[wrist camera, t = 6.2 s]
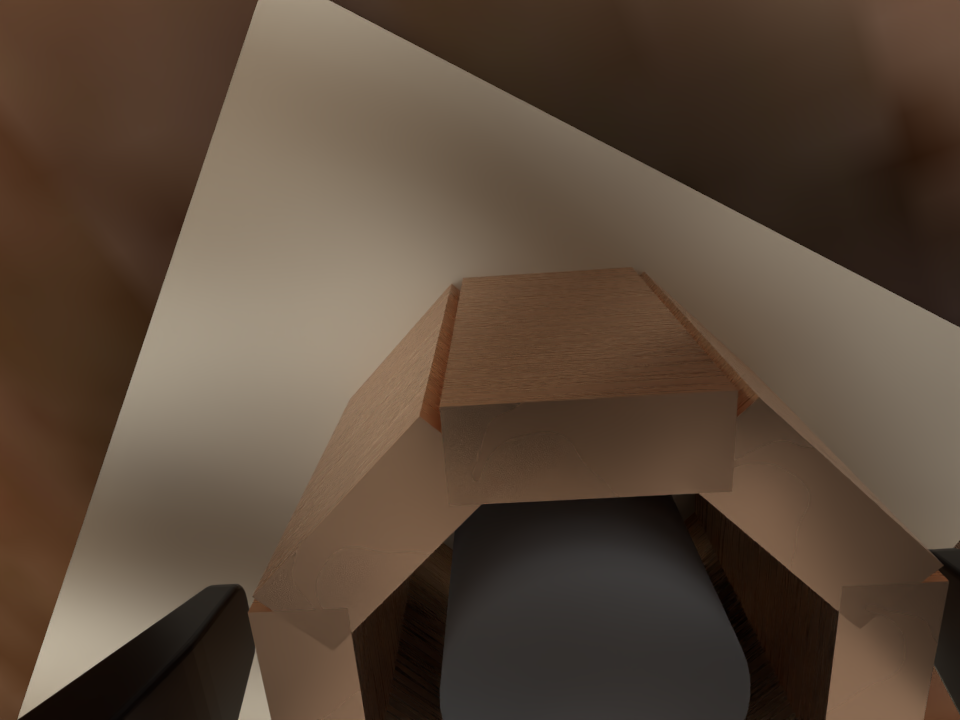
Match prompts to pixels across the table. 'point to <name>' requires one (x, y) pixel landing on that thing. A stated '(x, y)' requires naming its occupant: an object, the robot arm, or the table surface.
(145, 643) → the robot arm
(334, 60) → the duct base
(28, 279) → the table surface
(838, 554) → the sleeve
